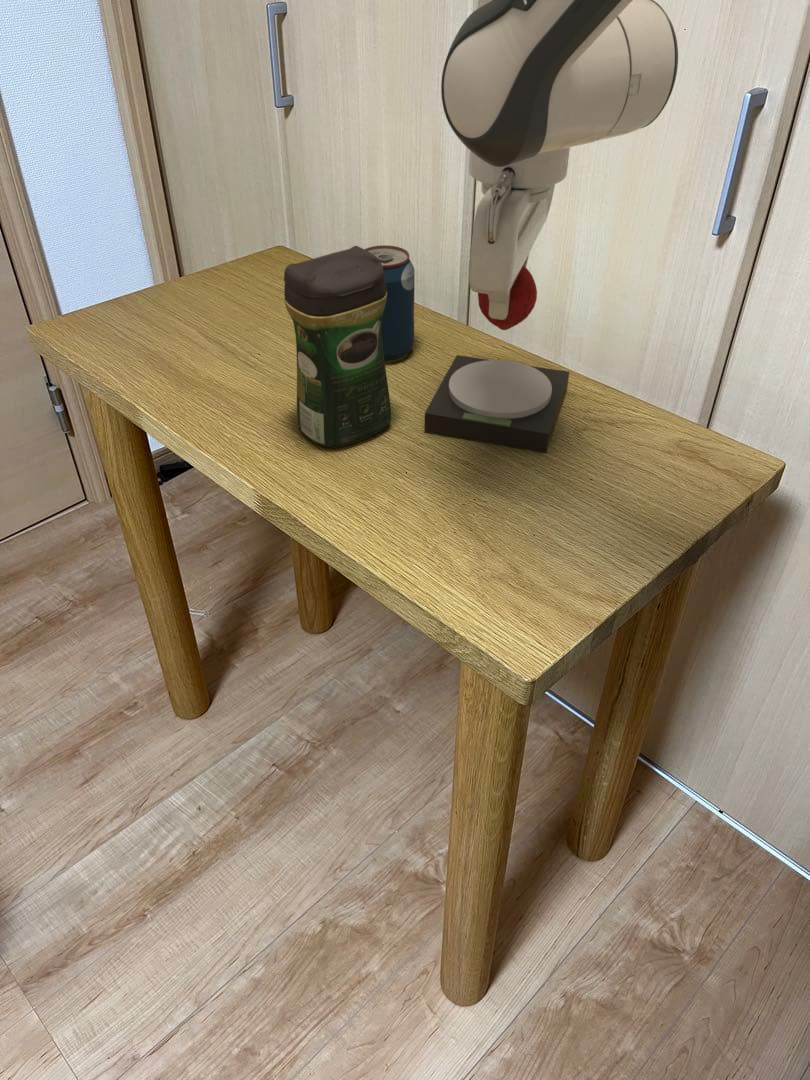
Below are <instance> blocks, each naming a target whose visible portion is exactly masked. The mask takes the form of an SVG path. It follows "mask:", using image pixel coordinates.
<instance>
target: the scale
mask: <svg viewBox="0 0 810 1080" xmlns="http://www.w3.org/2000/svg"><path fill="white" fill-rule="evenodd" d="M569 377H570V371H566V370H561V369H553V368H547V367H540V366H534V365H528V364H525V363H522V362H518V361H514V360H507V359H506V360H505V359H487V358H481V357H473V356H466V355H461V354H456V356H455V357H454V359H453V361H452V363H451V364H450V366H449V368H448V370H447V372H446V373H445V375H444V378H443V379H442V381H441V383H440V384H439V386H438V388H437V390H436V391H435V394H434V396H433V397H432V399H431V401H430V403H429V405H428V407H427V408H426V410H425V412H424V433H426V434H427V433H428V434H431V435H432V434H433V435H439V436H443V437H450V438H456V439H463V440H467V441H474V442H479V443H486V444H492V445H497V446H501V447H502V446H503V447H509V448H515V449H520V450H526V451H532V452H537V453H542V454H547V453H548V449H549V446H550V444H551V441H552V438H553V434H554V431H555V428H556V425H557V422H558V419H559V417H560V413H561V410H562V408H563V407H562V406H563V403H564V400H565V399H566V398H565V397H566V395H567V391H568V386H569Z"/></svg>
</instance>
